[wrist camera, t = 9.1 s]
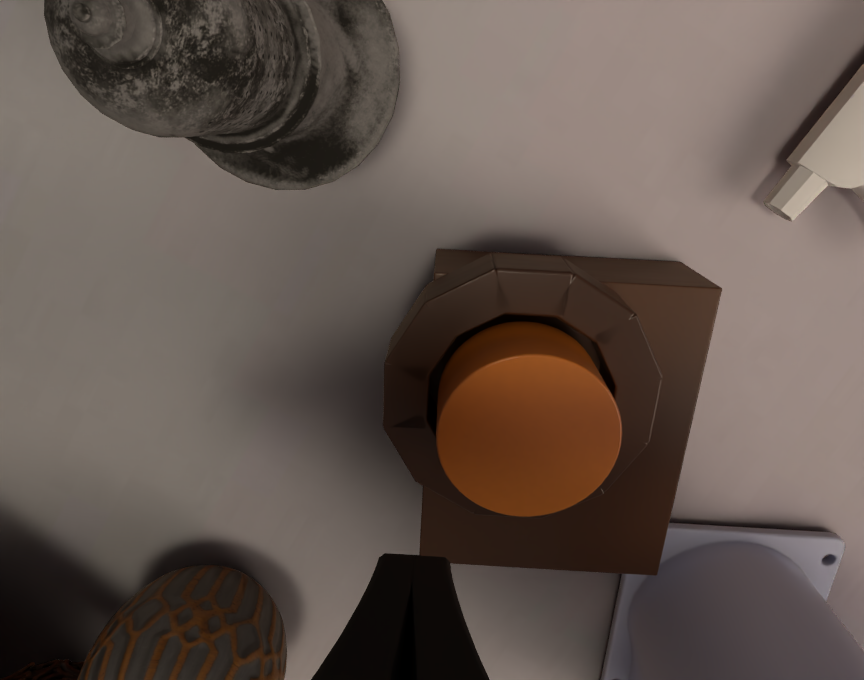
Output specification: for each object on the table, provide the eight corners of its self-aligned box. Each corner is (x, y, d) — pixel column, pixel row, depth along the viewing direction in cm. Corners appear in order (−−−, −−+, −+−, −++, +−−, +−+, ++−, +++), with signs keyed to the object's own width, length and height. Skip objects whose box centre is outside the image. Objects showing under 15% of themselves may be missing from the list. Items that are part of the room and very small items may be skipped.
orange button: (587, 470, 17) (607, 523, 15) (434, 461, 17) (431, 512, 15) (611, 325, 16) (637, 359, 13) (442, 315, 16) (440, 348, 13)
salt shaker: (279, -88, 16) (-87, -518, 5) (449, 53, 18) (447, -53, 6) (178, 97, 18) (-259, 69, 7) (338, 215, 19) (183, 354, 8)
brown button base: (630, 516, 23) (676, 618, 18) (393, 502, 23) (378, 600, 19) (685, 241, 19) (760, 282, 15) (402, 226, 19) (386, 262, 15)
